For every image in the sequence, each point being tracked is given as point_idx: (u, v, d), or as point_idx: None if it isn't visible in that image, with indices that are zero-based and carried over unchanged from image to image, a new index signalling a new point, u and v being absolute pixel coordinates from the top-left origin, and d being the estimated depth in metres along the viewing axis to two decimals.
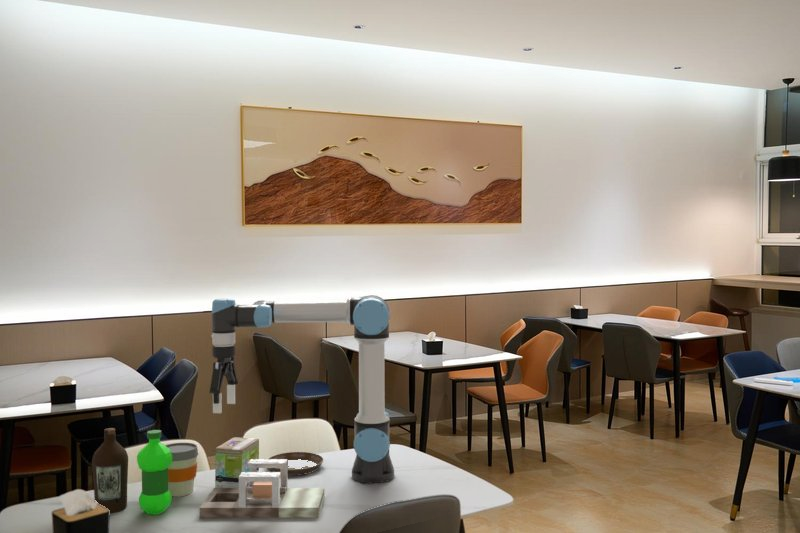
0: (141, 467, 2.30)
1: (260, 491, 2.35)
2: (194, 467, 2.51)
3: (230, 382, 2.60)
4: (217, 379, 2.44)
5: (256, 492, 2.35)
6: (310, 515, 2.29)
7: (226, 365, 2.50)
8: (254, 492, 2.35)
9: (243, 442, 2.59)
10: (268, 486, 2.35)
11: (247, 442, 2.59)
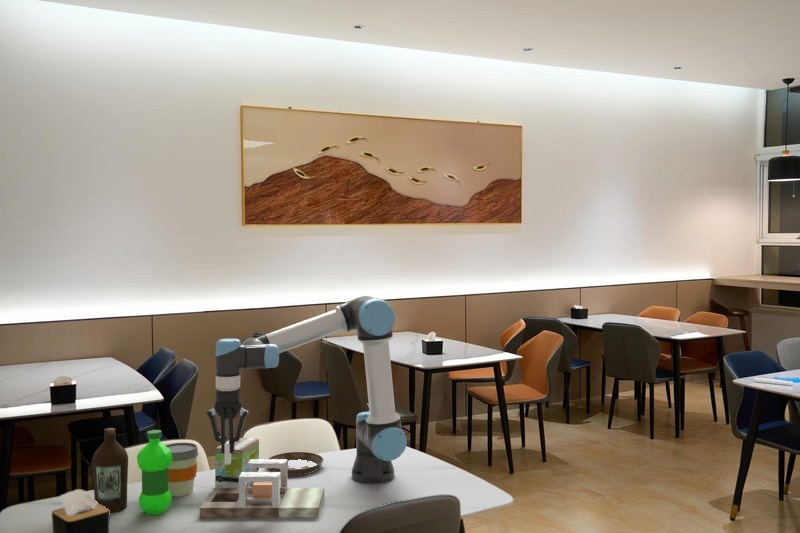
0: (141, 467, 2.30)
1: (260, 491, 2.35)
2: (194, 467, 2.51)
3: None
4: None
5: (256, 492, 2.35)
6: (310, 515, 2.29)
7: (220, 411, 2.36)
8: (254, 492, 2.35)
9: (243, 442, 2.59)
10: (268, 486, 2.35)
11: (247, 442, 2.59)
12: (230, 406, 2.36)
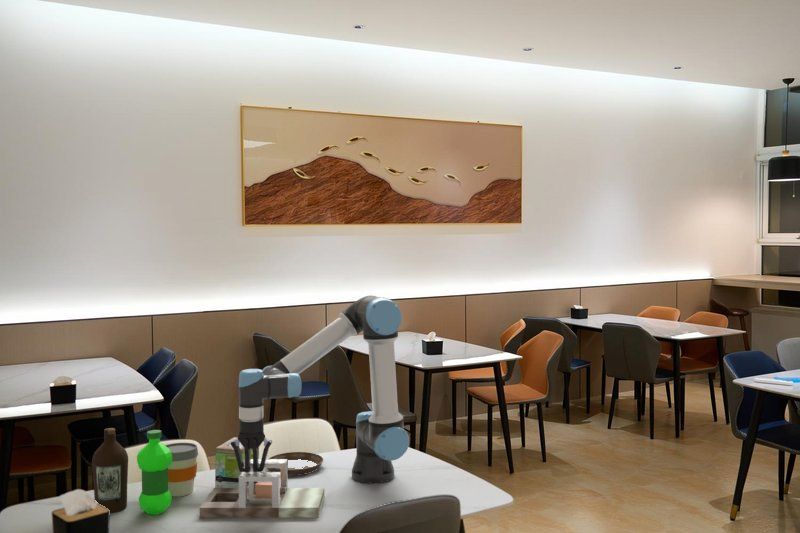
0: (141, 467, 2.30)
1: (263, 491, 2.35)
2: (194, 467, 2.51)
3: None
4: None
5: (259, 492, 2.35)
6: (310, 515, 2.29)
7: None
8: (257, 492, 2.35)
9: None
10: (271, 486, 2.35)
11: None
12: (254, 437, 2.36)
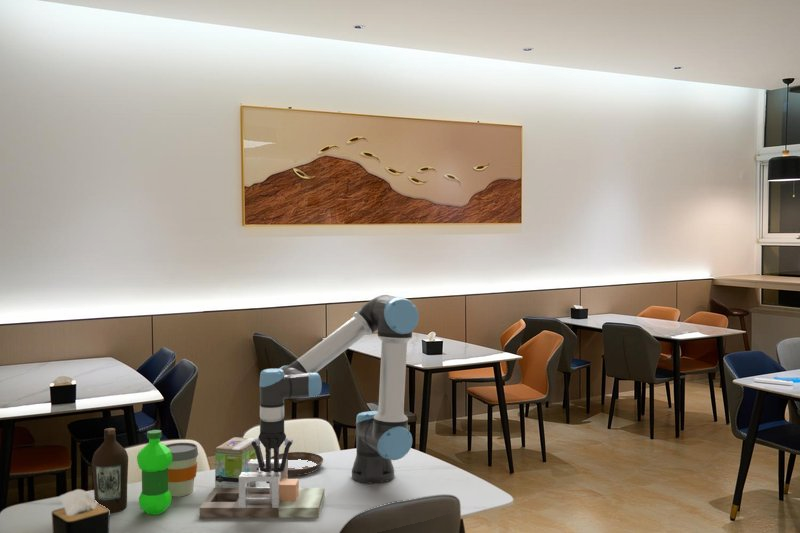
0: (141, 467, 2.30)
1: (284, 491, 2.35)
2: (194, 467, 2.51)
3: None
4: None
5: (280, 493, 2.35)
6: (310, 515, 2.29)
7: (265, 442, 2.36)
8: None
9: (243, 442, 2.59)
10: (292, 486, 2.35)
11: (247, 442, 2.59)
12: (274, 436, 2.36)
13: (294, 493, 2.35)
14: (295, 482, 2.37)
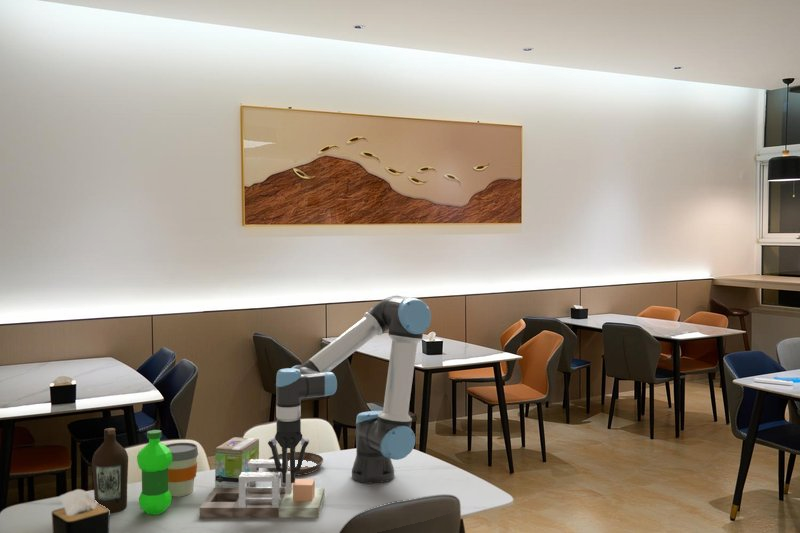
0: (141, 467, 2.30)
1: (300, 492, 2.35)
2: (194, 467, 2.51)
3: None
4: None
5: (296, 493, 2.35)
6: (310, 515, 2.29)
7: (281, 441, 2.36)
8: (294, 492, 2.35)
9: (243, 442, 2.59)
10: (308, 486, 2.35)
11: (247, 442, 2.59)
12: (291, 436, 2.36)
13: (310, 493, 2.35)
14: (311, 482, 2.37)
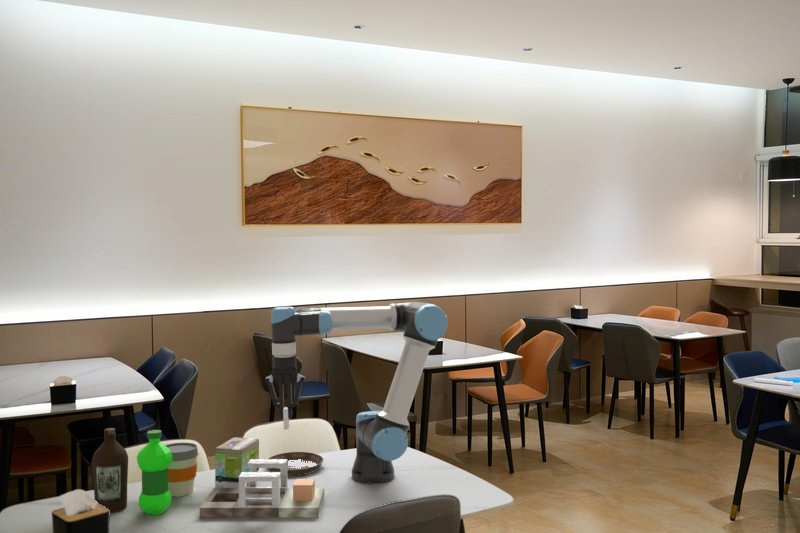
0: (141, 467, 2.30)
1: (300, 492, 2.35)
2: (194, 467, 2.51)
3: None
4: None
5: (297, 493, 2.35)
6: (310, 515, 2.29)
7: (278, 378, 2.41)
8: (294, 492, 2.35)
9: (243, 442, 2.59)
10: (308, 486, 2.35)
11: (247, 442, 2.59)
12: (287, 372, 2.41)
13: (311, 493, 2.35)
14: (311, 482, 2.37)
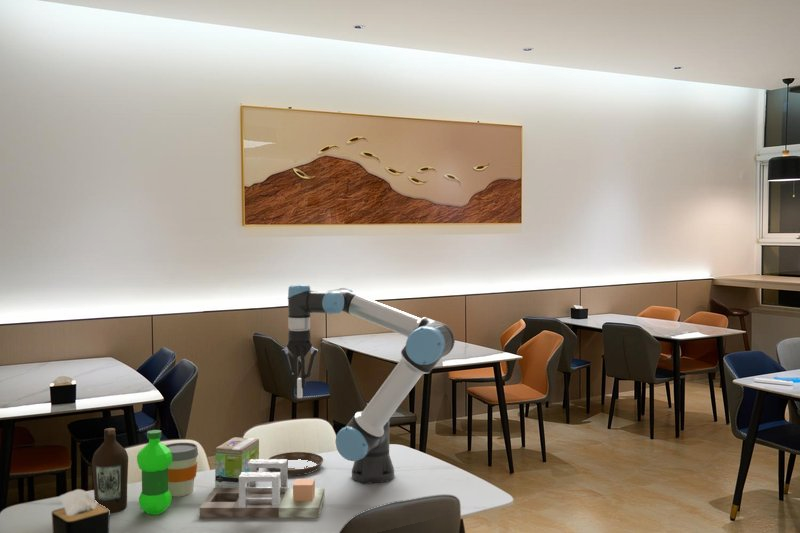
0: (141, 467, 2.30)
1: (300, 492, 2.35)
2: (194, 467, 2.51)
3: None
4: None
5: (297, 493, 2.35)
6: (310, 515, 2.29)
7: (293, 350, 2.60)
8: (294, 492, 2.35)
9: (243, 442, 2.59)
10: (308, 486, 2.35)
11: (247, 442, 2.59)
12: (302, 345, 2.60)
13: (311, 493, 2.35)
14: (311, 482, 2.37)
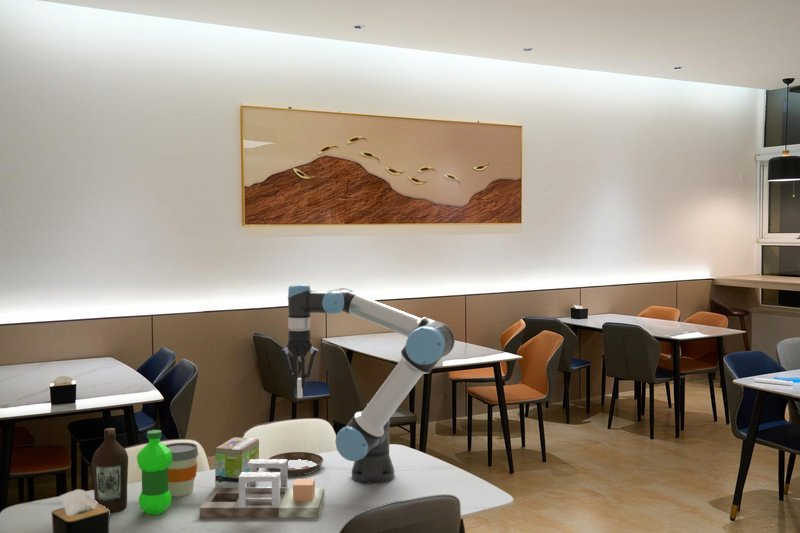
0: (141, 467, 2.30)
1: (300, 492, 2.35)
2: (194, 467, 2.51)
3: None
4: None
5: (297, 493, 2.35)
6: (310, 515, 2.29)
7: (293, 350, 2.60)
8: (294, 492, 2.35)
9: (243, 442, 2.59)
10: (308, 486, 2.35)
11: (247, 442, 2.59)
12: (302, 345, 2.60)
13: (311, 493, 2.35)
14: (311, 482, 2.37)
